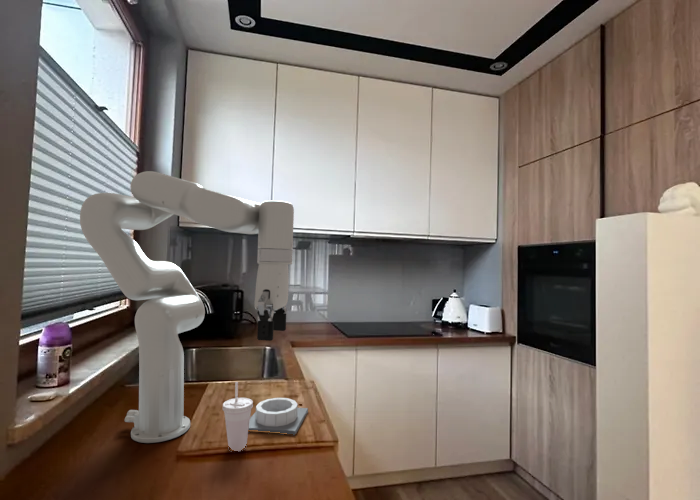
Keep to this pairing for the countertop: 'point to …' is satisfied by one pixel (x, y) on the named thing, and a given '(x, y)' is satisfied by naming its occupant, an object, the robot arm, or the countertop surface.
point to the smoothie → (237, 420)
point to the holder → (278, 416)
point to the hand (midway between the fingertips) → (272, 334)
